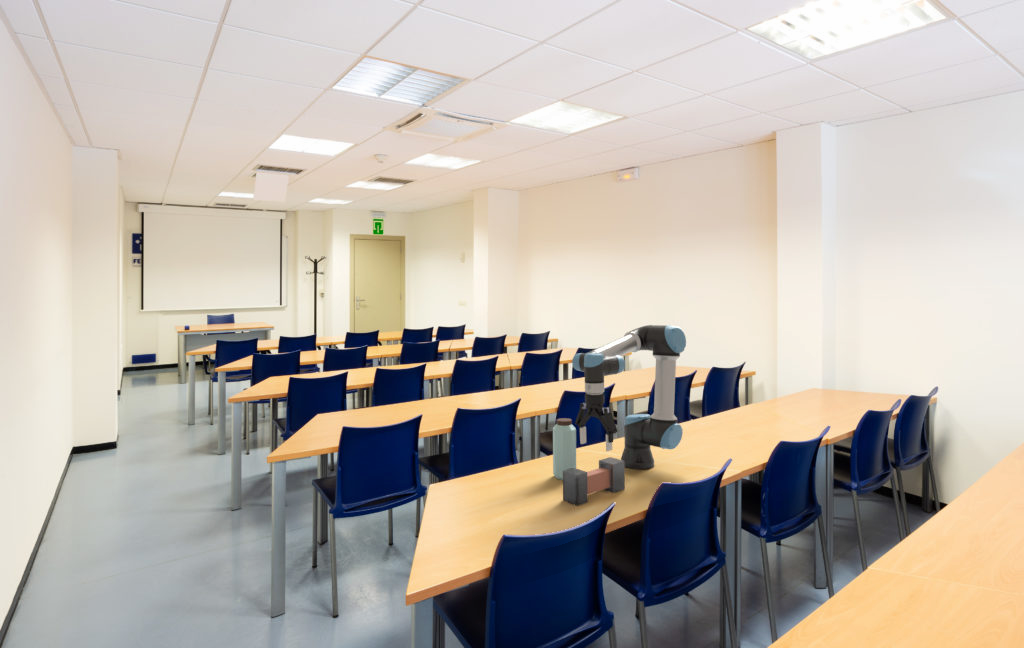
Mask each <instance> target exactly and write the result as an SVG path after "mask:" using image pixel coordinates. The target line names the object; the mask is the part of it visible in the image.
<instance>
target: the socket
mask: <svg viewBox="0 0 1024 648" xmlns="http://www.w3.org/2000/svg"><path fill="white" fill-rule="evenodd" d="M587 472H588V471H586V470H581V469H578V468H577V467H576V468H570V469H567V470H563V480H562V500H563V502H566V503H568V504H570V505H574V506H581V505H584V504H586V503H588V498H589V496H588V495H589V494H588V491H587Z"/></svg>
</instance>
